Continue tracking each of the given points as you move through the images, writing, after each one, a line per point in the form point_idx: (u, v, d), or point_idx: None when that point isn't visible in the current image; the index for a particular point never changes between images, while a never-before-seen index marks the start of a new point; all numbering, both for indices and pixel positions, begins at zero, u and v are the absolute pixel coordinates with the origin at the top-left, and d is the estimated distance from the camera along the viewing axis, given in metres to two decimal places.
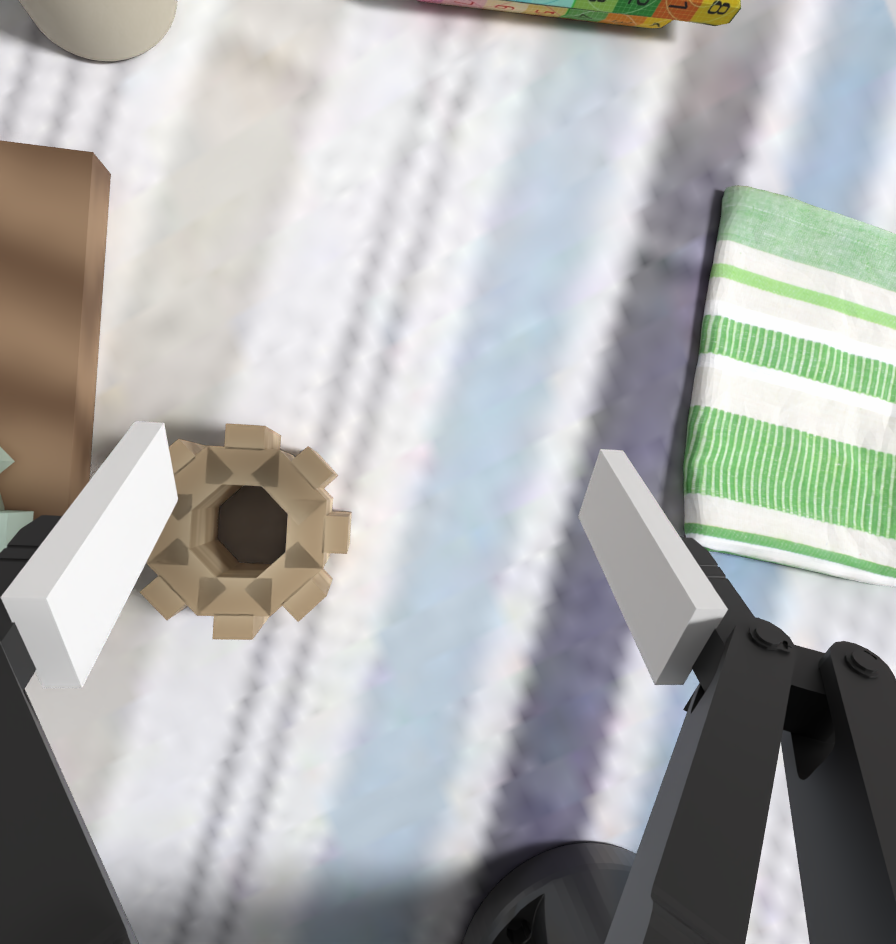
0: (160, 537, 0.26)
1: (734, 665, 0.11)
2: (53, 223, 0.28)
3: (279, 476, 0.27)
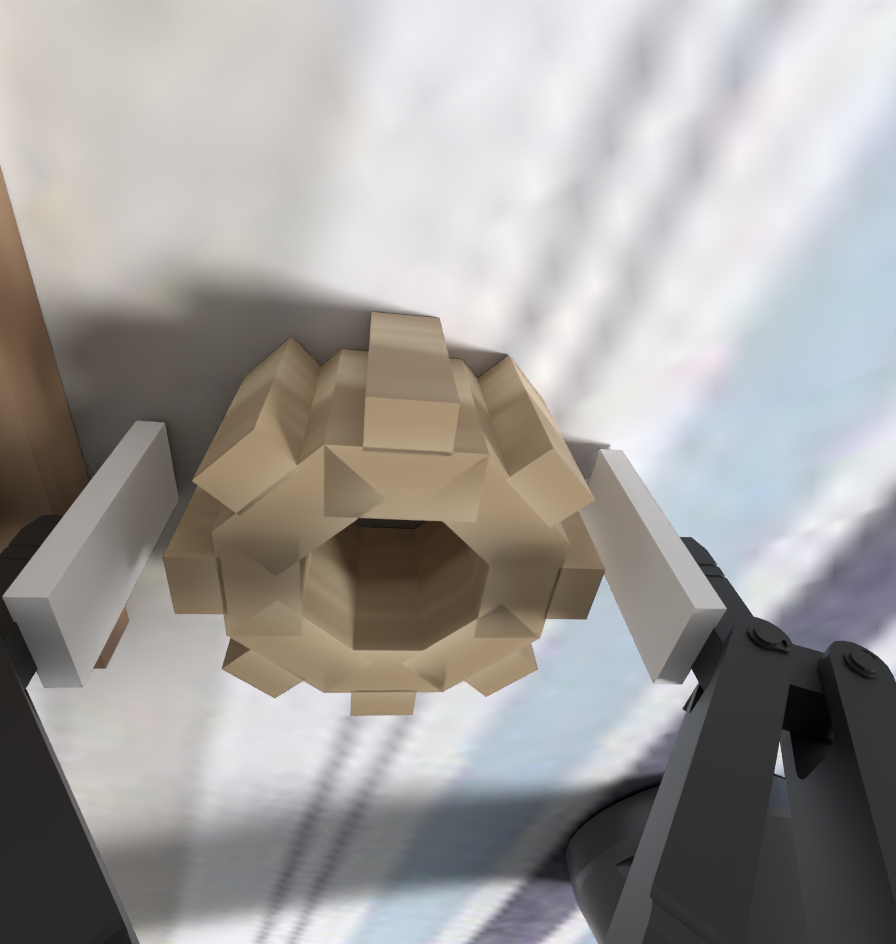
0: (244, 599, 0.13)
1: (733, 664, 0.11)
2: None
3: (481, 504, 0.12)
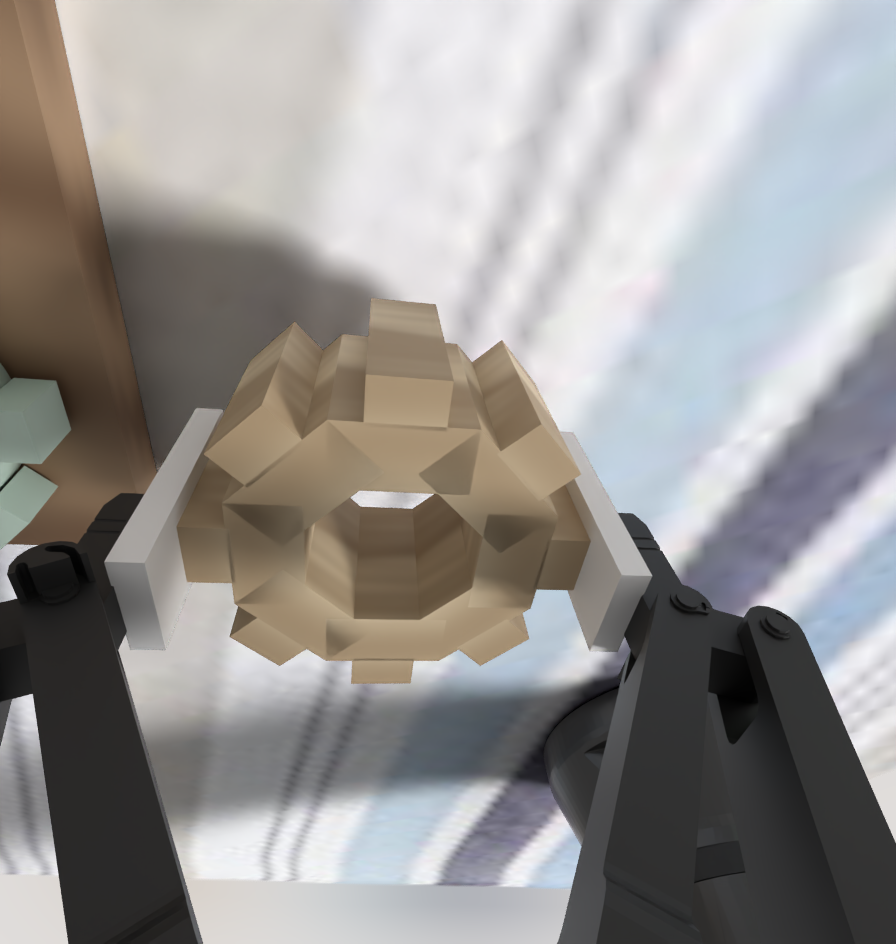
0: (251, 568, 0.14)
1: (660, 632, 0.11)
2: None
3: (474, 478, 0.13)
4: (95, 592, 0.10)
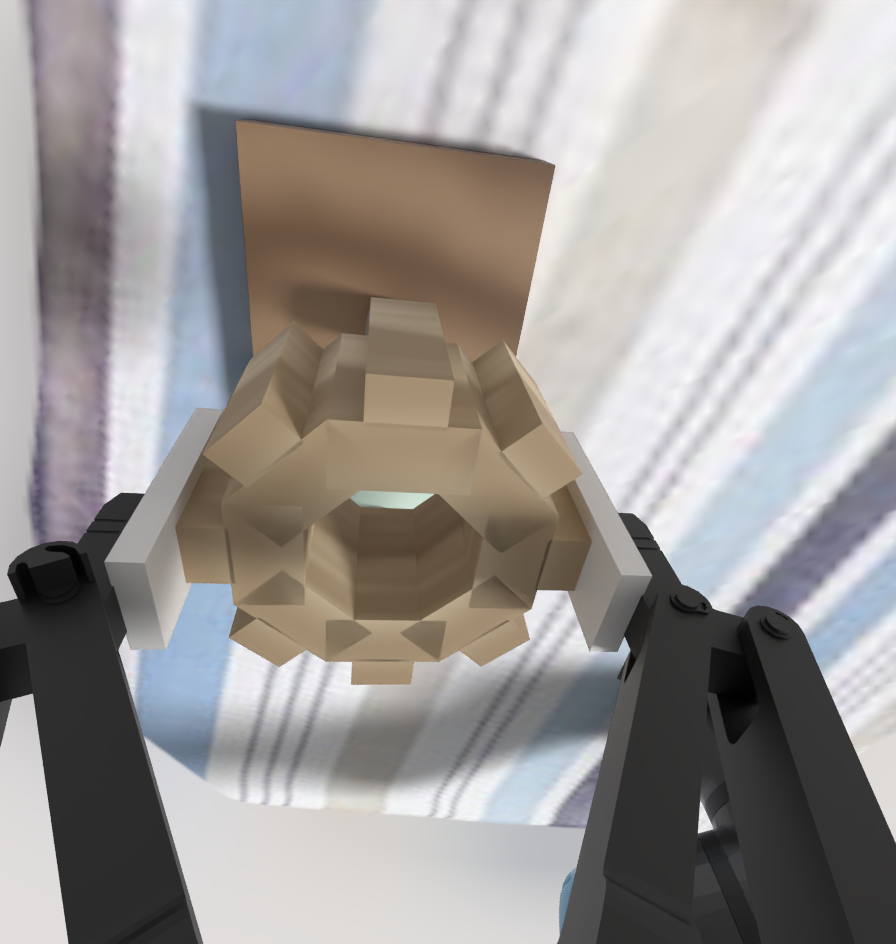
0: (250, 569, 0.14)
1: (660, 632, 0.11)
2: (505, 251, 0.27)
3: (475, 477, 0.13)
4: (96, 592, 0.10)
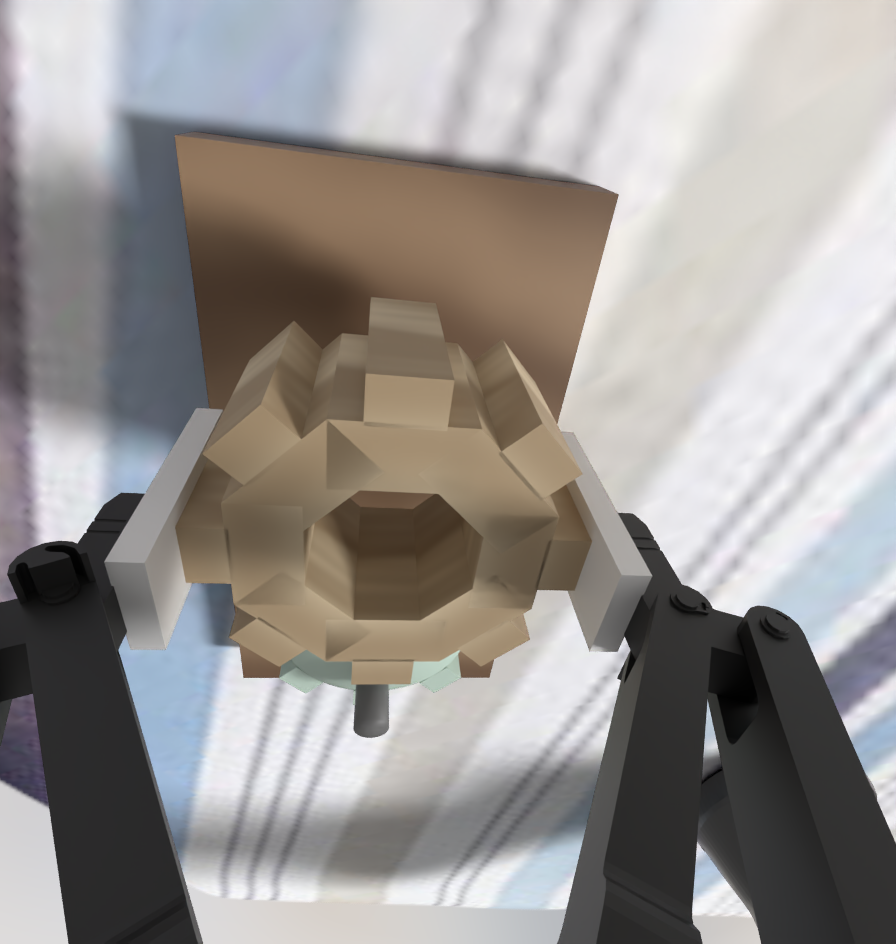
0: (250, 569, 0.14)
1: (660, 632, 0.11)
2: (545, 306, 0.20)
3: (475, 477, 0.13)
4: (96, 592, 0.10)
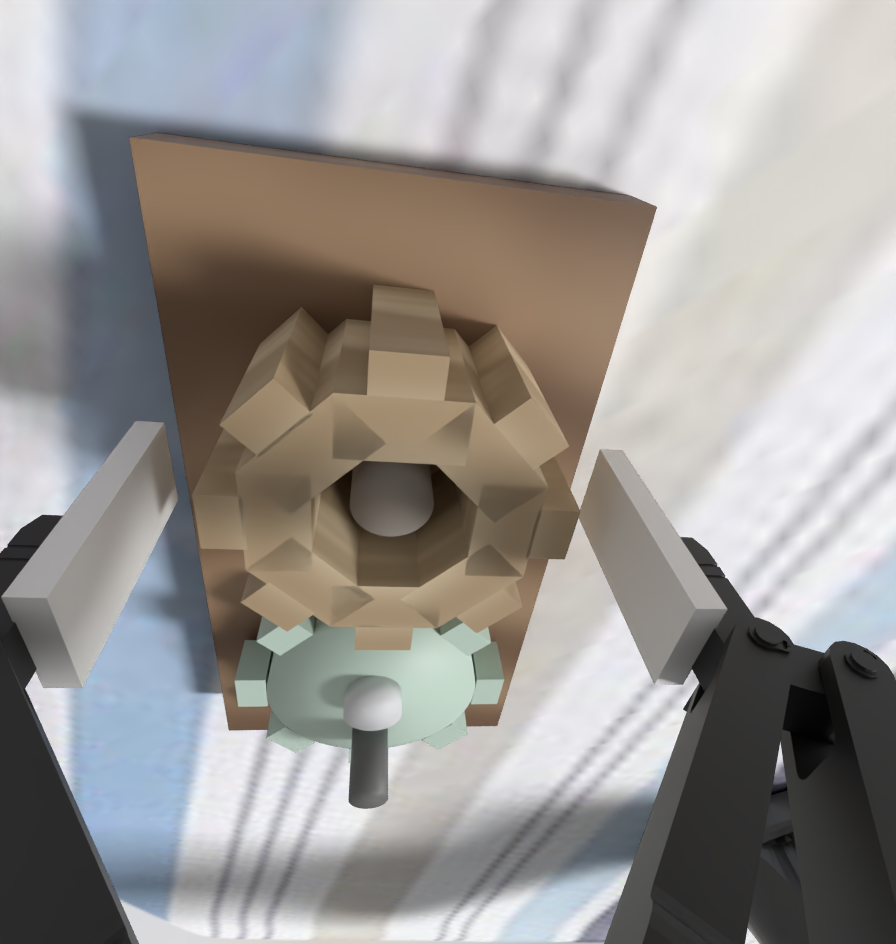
0: (262, 536, 0.15)
1: (733, 665, 0.11)
2: (568, 334, 0.18)
3: (470, 449, 0.14)
4: None
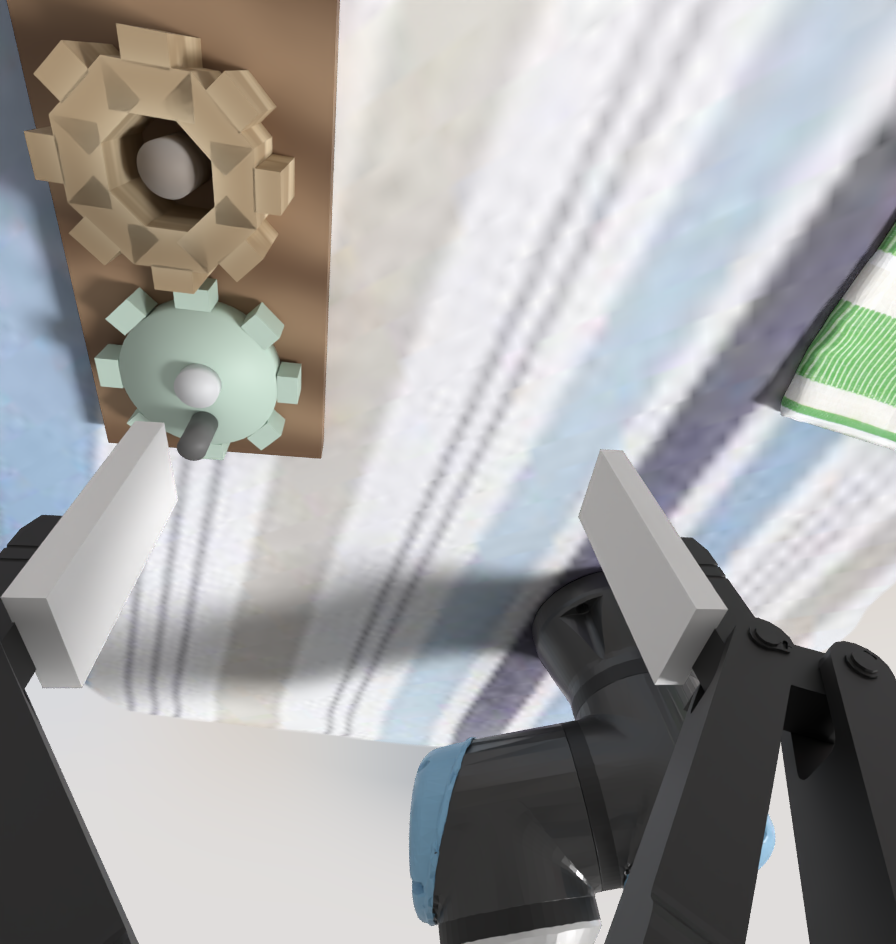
0: (74, 173, 0.24)
1: (734, 665, 0.11)
2: (300, 82, 0.27)
3: (195, 110, 0.23)
4: None
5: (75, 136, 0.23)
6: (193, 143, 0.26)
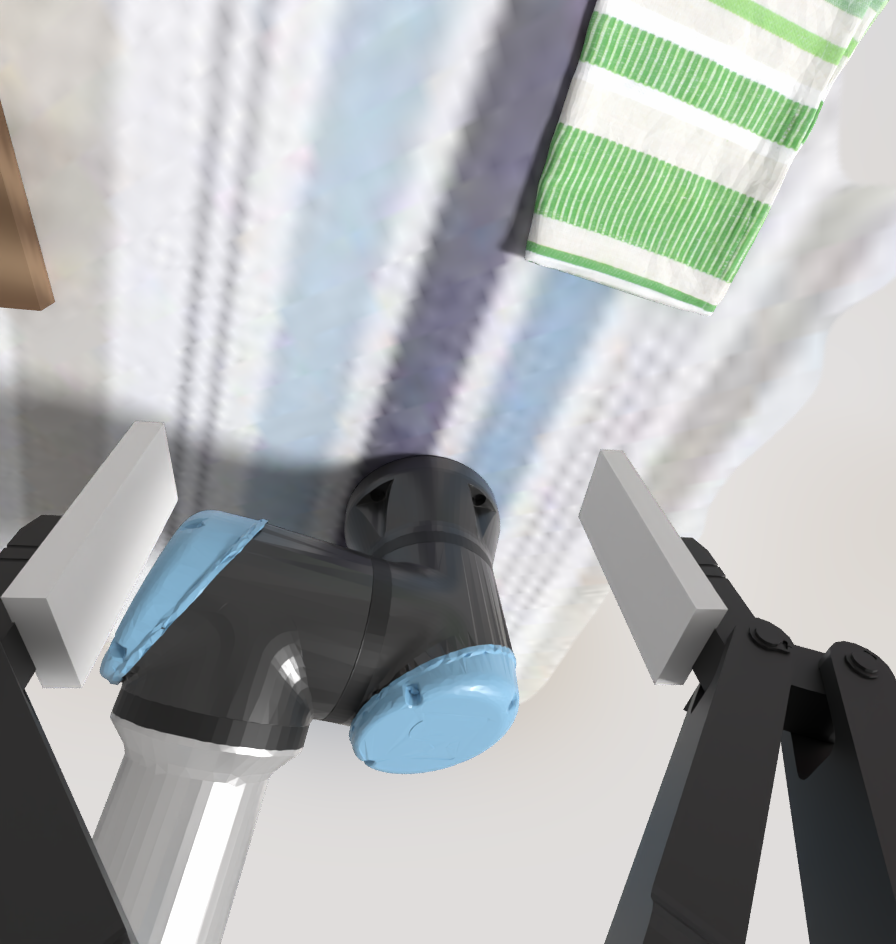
0: None
1: (734, 665, 0.11)
2: None
3: None
4: None
5: None
6: None
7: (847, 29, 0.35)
